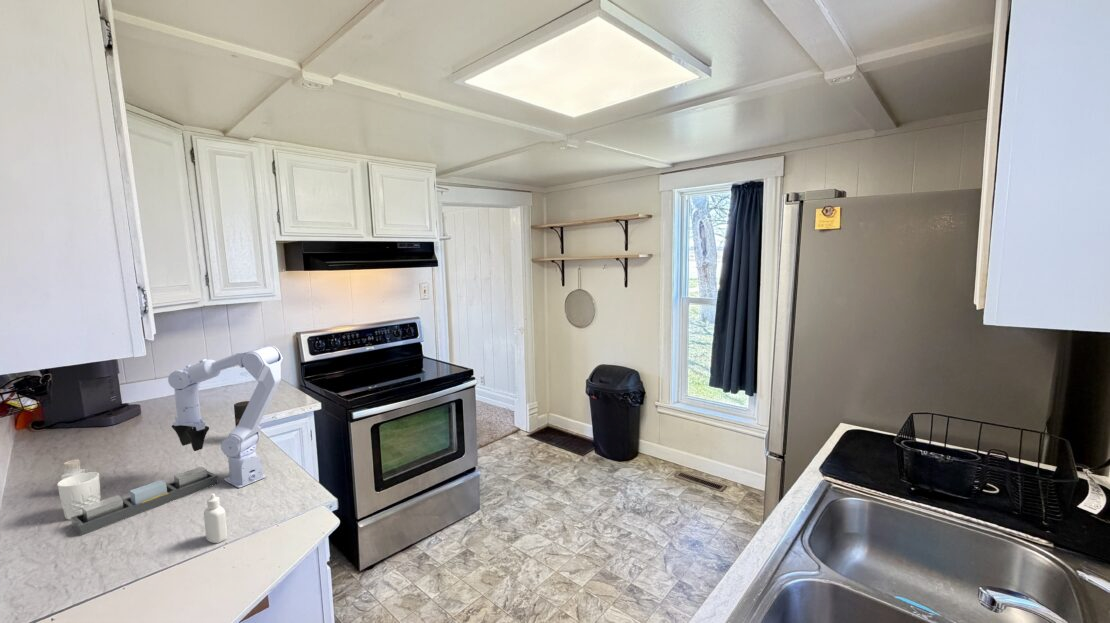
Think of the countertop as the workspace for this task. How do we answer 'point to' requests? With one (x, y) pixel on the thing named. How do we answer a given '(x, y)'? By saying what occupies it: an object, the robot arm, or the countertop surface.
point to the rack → (122, 508)
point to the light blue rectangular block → (147, 492)
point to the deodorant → (239, 410)
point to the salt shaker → (72, 468)
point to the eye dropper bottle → (215, 521)
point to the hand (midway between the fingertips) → (192, 447)
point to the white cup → (79, 492)
